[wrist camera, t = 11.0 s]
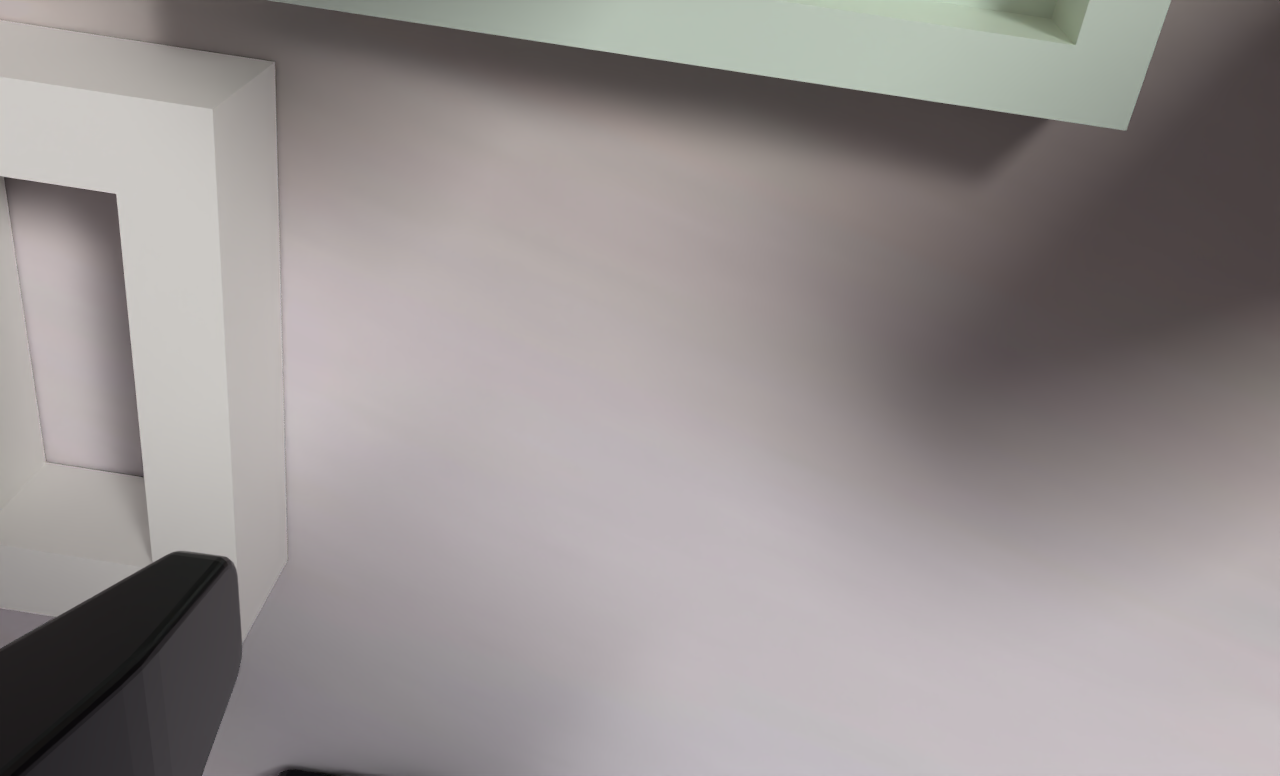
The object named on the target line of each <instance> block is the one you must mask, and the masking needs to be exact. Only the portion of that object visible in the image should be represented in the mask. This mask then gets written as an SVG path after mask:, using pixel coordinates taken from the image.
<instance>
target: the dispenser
mask: <svg viewBox="0 0 1280 776" xmlns="http://www.w3.org/2000/svg"><path fill="white" fill-rule="evenodd" d="M4 177H9V178H16V179H22V180H29V181H35V182H42V183H48V184H55V185H61V186H68V187H74V188H81V189H87V190H94V191H101V192H107V193H114V194H116V197H117V207H118V217H119V227H120V237H121V248H122V258H123V268H124V278H125V288H126V298H127V309H128V319H129V329H130V339H131V349H132V359H133V369H134V380H135V390H136V400H137V410H138V420H139V430H140V441H141V451H142V461H143V471H144V477H138V476H132V475H126V474H119V473H113V472H106V471H100V470H93V469H87V468H81V467H74V466H68V465H61V464H55V463H48V462H46V459H45V452H44V445H43V439H42V432H41V425H40V418H39V411H38V405H37V398H36V391H35V384H34V378H33V371H32V364H31V357H30V350H29V344H28V337H27V330H26V323H25V317H24V310H23V303H22V296H21V290H20V283H19V276H18V269H17V262H16V256H15V249H14V242H13V235H12V229H11V222H10V215H9V208H8V201H7V195H6V188H5V181H4ZM175 551H191V552H198V553H205V554H213V555H220V556H225V557H227V558H229V559H230V560H231V561H232V562H233V563H234V565H235V568H236V571H237V575H238V587H239V603H240V618H241V633H242V644H243V642H244V640H245V638H246V637H247V635H248V633H249V631H250V629H251V627H252V626H253V624H254V622H255V620H256V618H257V616H258V614H259V613H260V611H261V609H262V607H263V605H264V603H265V602H266V600H267V598H268V596H269V594H270V592H271V591H272V589H273V587H274V585H275V583H276V581H277V579H278V578H279V576H280V574H281V572H282V570H283V568H284V567H285V565H286V563H287V561H288V547H287V508H286V470H285V431H284V392H283V354H282V315H281V276H280V237H279V199H278V160H277V121H276V83H275V62H273V61H266V60H259V59H253V58H246V57H240V56H233V55H227V54H220V53H213V52H207V51H200V50H194V49H187V48H181V47H174V46H168V45H161V44H154V43H148V42H141V41H135V40H128V39H122V38H115V37H108V36H102V35H95V34H89V33H82V32H76V31H69V30H63V29H56V28H49V27H43V26H36V25H30V24H23V23H17V22H10V21H3V20H0V609H6V610H13V611H19V612H26V613H32V614H38V615H45V616H51V617H57V616H59V615H61V614H62V613H64V612H66V611H68V610H70V609H71V608H73V607H75V606H77V605H78V604H80V603H82V602H84V601H85V600H87V599H89V598H91V597H93V596H94V595H96V594H98V593H100V592H101V591H103V590H105V589H107V588H108V587H110V586H112V585H114V584H116V583H117V582H119V581H121V580H123V579H124V578H126V577H128V576H130V575H131V574H133V573H135V572H137V571H139V570H140V569H142V568H144V567H146V566H147V565H149V564H151V563H153V562H154V561H156V560H158V559H160V558H162V557H163V556H165V555H167V554H169V553H172V552H175Z"/></svg>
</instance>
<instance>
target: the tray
mask: <svg viewBox="0 0 1280 776" xmlns="http://www.w3.org/2000/svg"><path fill="white" fill-rule="evenodd" d="M268 1H275V2H282V3H288V4H295V5H301V6H308V7H314V8H321V9H328V10H334V11H341V12H347V13H354V14H361V15H367V16H374V17H380V18H387V19H393V20H400V21H407V22H413V23H420V24H426V25H433V26H440V27H446V28H453V29H459V30H466V31H472V32H479V33H486V34H492V35H499V36H505V37H512V38H519V39H525V40H532V41H538V42H545V43H551V44H558V45H565V46H571V47H578V48H584V49H591V50H597V51H604V52H611V53H617V54H624V55H630V56H637V57H644V58H650V59H657V60H663V61H670V62H676V63H683V64H690V65H696V66H703V67H709V68H716V69H723V70H729V71H736V72H742V73H749V74H755V75H762V76H769V77H775V78H782V79H788V80H795V81H802V82H808V83H815V84H821V85H828V86H834V87H841V88H848V89H854V90H861V91H867V92H874V93H881V94H887V95H894V96H900V97H907V98H913V99H920V100H927V101H933V102H940V103H946V104H953V105H959V106H966V107H973V108H979V109H986V110H992V111H999V112H1006V113H1012V114H1019V115H1025V116H1032V117H1038V118H1045V119H1052V120H1058V121H1065V122H1071V123H1078V124H1085V125H1091V126H1098V127H1104V128H1111V129H1117V130H1124V131H1126V130H1127V127H1128V124H1129V121H1130V119H1131V116H1132V113H1133V110H1134V107H1135V104H1136V101H1137V98H1138V95H1139V92H1140V89H1141V87H1142V84H1143V81H1144V78H1145V75H1146V72H1147V69H1148V66H1149V63H1150V60H1151V58H1152V55H1153V52H1154V49H1155V46H1156V43H1157V40H1158V37H1159V34H1160V31H1161V28H1162V26H1163V23H1164V20H1165V17H1166V14H1167V11H1168V8H1169V5H1170V2H1171V0H268Z"/></svg>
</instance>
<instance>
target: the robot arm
mask: <svg viewBox="0 0 1280 776" xmlns="http://www.w3.org/2000/svg"><path fill="white" fill-rule="evenodd" d="M241 657H242V633H241V618H240V603H239V587H238V575H237V571H236V568H235V565H234V563H233V562H232V561H231V560H230V559H229V558H227V557H225V556H220V555H213V554H205V553H198V552H191V551H175V552H172V553H169V554H167V555H165V556H163V557H162V558H160V559H158V560H156V561H154V562H153V563H151V564H149V565H147V566H146V567H144V568H142V569H140V570H139V571H137V572H135V573H133V574H131V575H130V576H128V577H126V578H124V579H123V580H121V581H119V582H117V583H116V584H114V585H112V586H110V587H108V588H107V589H105V590H103V591H101V592H100V593H98V594H96V595H94V596H93V597H91V598H89V599H87V600H85V601H84V602H82V603H80V604H78V605H77V606H75V607H73V608H71V609H70V610H68V611H66V612H64V613H62V614H61V615H59V616H57V617H55V618H54V619H52V620H50V621H48V622H47V623H45V624H43V625H41V626H39V627H38V628H36V629H34V630H32V631H31V632H29V633H27V634H25V635H24V636H22V637H20V638H18V639H16V640H15V641H13V642H11V643H9V644H8V645H6V646H4V647H2V648H1V649H0V776H202V773H203V770H204V768H205V765H206V762H207V759H208V757H209V754H210V751H211V748H212V746H213V743H214V740H215V737H216V735H217V732H218V729H219V726H220V724H221V721H222V718H223V715H224V713H225V710H226V707H227V704H228V702H229V699H230V696H231V693H232V691H233V688H234V685H235V682H236V679H237V676H238V672H239V668H240V663H241ZM278 776H330V775H324V774H318V773H311V772H305V771H299V770H287V771H284V772H281V773H280V774H279V775H278Z"/></svg>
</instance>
